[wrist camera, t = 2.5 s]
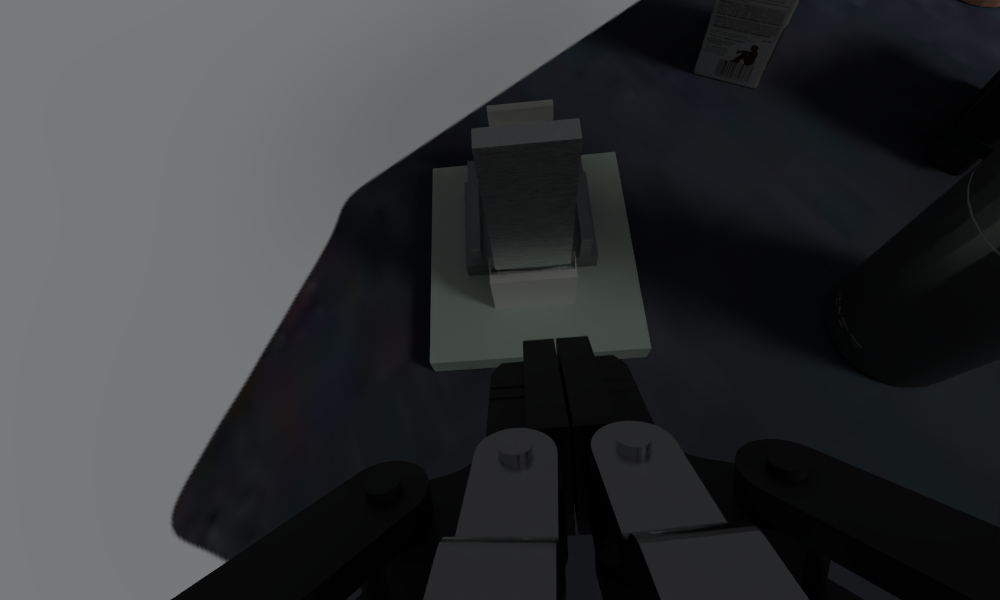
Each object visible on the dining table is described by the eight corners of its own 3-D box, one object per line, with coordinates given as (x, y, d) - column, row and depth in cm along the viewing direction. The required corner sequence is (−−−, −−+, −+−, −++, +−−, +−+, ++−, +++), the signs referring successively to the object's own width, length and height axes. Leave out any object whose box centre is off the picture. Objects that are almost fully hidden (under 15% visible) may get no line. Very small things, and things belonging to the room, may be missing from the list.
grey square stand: (612, 167, 45) (626, 92, 37) (645, 356, 37) (671, 311, 30) (437, 183, 46) (415, 112, 38) (435, 371, 38) (407, 331, 31)
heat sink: (584, 182, 42) (588, 150, 39) (596, 265, 39) (601, 238, 35) (467, 193, 43) (459, 161, 39) (468, 275, 39) (460, 249, 36)
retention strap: (572, 254, 34) (585, 115, 23) (574, 272, 34) (589, 139, 22) (491, 261, 35) (465, 127, 23) (492, 278, 34) (465, 150, 23)
